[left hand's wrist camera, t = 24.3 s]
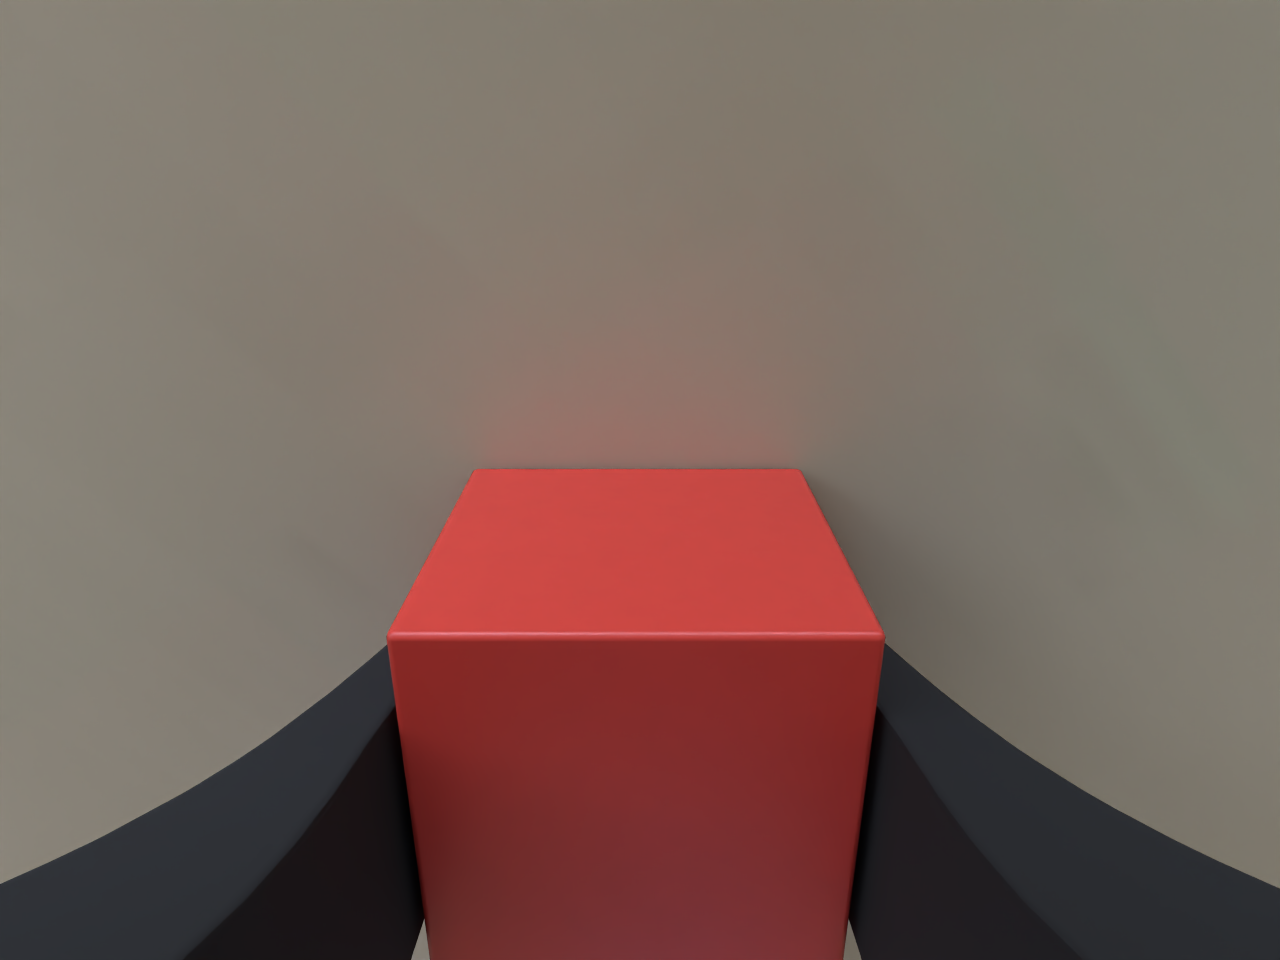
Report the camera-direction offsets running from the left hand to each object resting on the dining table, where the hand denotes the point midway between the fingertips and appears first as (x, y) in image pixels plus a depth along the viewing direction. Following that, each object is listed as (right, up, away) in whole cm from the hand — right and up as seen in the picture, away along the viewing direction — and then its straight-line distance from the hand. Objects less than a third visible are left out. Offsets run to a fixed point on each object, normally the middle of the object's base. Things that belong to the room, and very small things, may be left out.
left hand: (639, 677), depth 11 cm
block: (0, +1, +1) cm, 2 cm away
